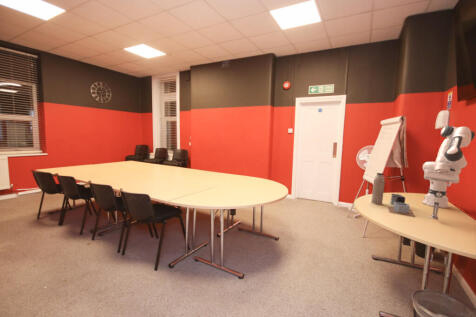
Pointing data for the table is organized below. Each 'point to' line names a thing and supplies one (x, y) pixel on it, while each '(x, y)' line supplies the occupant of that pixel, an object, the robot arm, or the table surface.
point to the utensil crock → (401, 207)
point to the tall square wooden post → (434, 211)
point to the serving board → (401, 213)
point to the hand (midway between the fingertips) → (440, 184)
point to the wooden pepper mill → (378, 189)
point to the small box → (397, 199)
